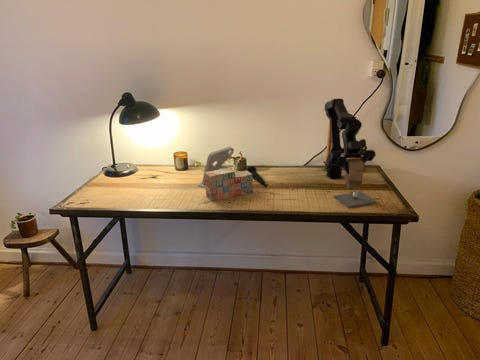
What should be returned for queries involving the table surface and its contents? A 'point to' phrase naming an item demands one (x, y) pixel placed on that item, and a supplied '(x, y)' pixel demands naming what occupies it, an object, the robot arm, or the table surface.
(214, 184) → the stack of blocks
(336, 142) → the robot arm
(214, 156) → the phone holder
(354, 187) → the walnut block
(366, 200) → the charcoal base plate
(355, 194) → the steel pin
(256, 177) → the microphone
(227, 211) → the table surface
